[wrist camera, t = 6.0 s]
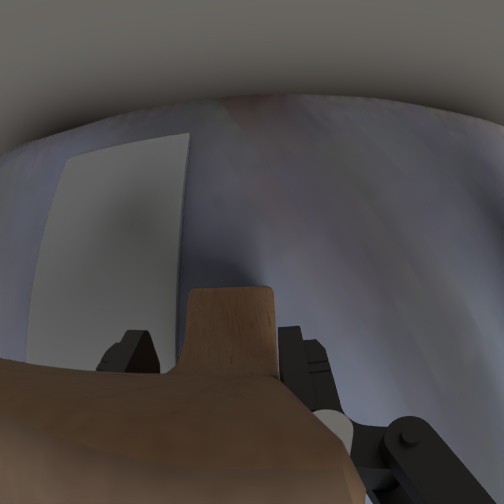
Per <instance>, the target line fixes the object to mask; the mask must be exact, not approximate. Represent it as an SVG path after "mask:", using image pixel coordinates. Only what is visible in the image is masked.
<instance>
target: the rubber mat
mask: <svg viewBox="0 0 504 504" xmlns="http://www.w3.org/2000/svg"><path fill="white" fill-rule="evenodd" d="M190 141H191V136H190V133H185V134H178V135H171V136H165V137H159V138H153V139H148V140H142V141H137V142H132V143H127V144H122V145H117V146H113V147H108V148H104V149H100V150H96V151H92V152H88V153H84V154H80V155H76V156H73V157H69V158H67V159H66V162H65V165H64V167H63V170H62V173H61V175H60V178H59V181H58V184H57V187H56V190H55V193H54V196H53V199H52V202H51V206H50V209H49V213H48V216H47V220H46V223H45V227H44V231H43V235H42V239H41V243H40V248H39V252H38V257H37V262H36V267H35V272H34V278H33V284H32V290H31V297H30V305H29V314H28V324H27V336H26V356H25V363H30V364H37V365H44V366H51V367H59V368H68V369H78V370H89V371H96V367H97V366H98V364H99V363H100V360H101V359H102V357H103V355H104V353H105V352H106V350H108V349H109V348H110V347H111V346H112V345H113V344H115V343H116V342H117V343H120V341H121V339H122V338H123V336H124V334H125V332H126V331H127V330H148V331H149V333H150V335H151V338H152V341H153V344H154V347H155V350H156V353H157V356H158V359H159V362H160V373H167V372H168V371H169V370H171V369H172V368H173V367H174V366H176V365H177V362H178V305H179V274H180V253H181V236H182V222H183V209H184V197H185V187H186V176H187V167H188V158H189V149H190Z"/></svg>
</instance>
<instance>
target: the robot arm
mask: <svg viewBox="0 0 504 504" xmlns="http://www.w3.org/2000/svg"><path fill="white" fill-rule="evenodd" d="M278 349H279V375H280V381H281V382H282V383H283V384H284V385H285V386H286V387H287V388H288V389H289V390H290V391H291V392H292V393H293V394H294V395H295V396H296V397H297V398H298V399H299V400H300V401H301V402H302V403H303V404H304V405H305V406H306V407H307V408H308V409H309V410H310V411H311V412H312V413H313V414H314V415H315V416H316V417H318V418H319V419H320V420H321V421H322V422H323V423H324V424H325V425H326V426H327V427H328V428H329V429H330V430H331V431H332V432H333V433H334V434H336V435H337V436H338V437H339V438H340V439H341V440H342V441H343V443H344V445H345V447H346V450H347V452H348V454H349V456H350V458H351V460H352V462H353V464H354V466H355V468H356V470H357V472H358V474H359V476H360V478H361V480H362V482H363V484H364V486H365V488H366V493H367V495H368V497H369V498H370V500H371V501H372V503H373V504H496V503H495V501H494V500H493V499H492V498H491V497H490V495H489V494H488V493H487V492H486V491H485V489H484V488H483V487H482V486H481V484H480V483H479V482H478V481H477V480H476V478H475V477H474V476H473V475H472V474H471V473H470V471H469V470H468V469H467V468H466V467H465V465H464V464H463V463H462V462H461V461H460V459H459V458H458V457H457V456H456V455H455V454H454V452H453V451H452V450H451V449H450V448H449V447H448V445H447V444H446V443H445V442H444V441H443V440H442V438H441V437H440V436H439V435H438V434H437V433H436V431H435V430H434V429H433V428H432V427H431V426H430V425H429V424H428V423H427V422H426V421H425V420H423V419H421V418H418V417H414V416H405V417H401V418H398V419H396V420H394V421H393V422H392V423H391V424H390V425H389V426H388V427H378V426H366V425H361V424H358V423H356V422H354V421H352V420H351V419H349V418H348V417H347V416H346V415H345V414H344V412H343V410H342V408H341V404H340V400H339V397H338V393H337V389H336V385H335V382H334V378H333V375H332V372H331V367H330V364H329V362H328V357H327V353H326V350H325V348H324V347H323V346H322V345H321V344H320V343H319V342H318V341H317V340H316V339H313V340H303V338H302V334H301V329H300V326H290V327H278ZM96 371H102V372H120V373H160V362H159V359H158V356H157V353H156V350H155V347H154V344H153V341H152V338H151V335H150V333H149V331H148V330H127V331H126V332H125V334H124V336H123V338H122V339H121V341H120V343H117V342H116V343H115V344H113V345H112V346H111V347H110V348H109V349H108V350H106V352H105V353H104V355H103V357H102V359H101V360H100V363H99V364H98V366H97V367H96Z"/></svg>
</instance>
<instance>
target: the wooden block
mask: <svg viewBox="0 0 504 504" xmlns="http://www.w3.org/2000/svg"><path fill="white" fill-rule="evenodd" d="M365 495H366V488H365V486H364V484H363V482H362V480H361V478H360V476H359V474H358V472H357V470H356V468H355V466H354V464H353V462H352V460H351V458H350V456H349V454H348V452H347V450H346V447H345V445H344V443H343V441H342V440H341V439H340V438H339V437H338V436H337V435H336V434H334V433H333V432H332V431H331V430H330V429H329V428H328V427H327V426H326V425H325V424H324V423H323V422H322V421H321V420H320V419H319V418H318V417H316V416H315V415H314V414H313V413H312V412H311V411H310V410H309V409H308V408H307V407H306V406H305V405H304V404H303V403H302V402H301V401H300V400H299V399H298V398H297V397H296V396H295V395H294V394H293V393H292V392H291V391H290V390H289V389H288V388H287V387H286V386H285V385H284V384H283V383H282V382H281V381H280V378H279V372H278V360H277V346H276V330H275V310H274V292H273V290H272V289H271V287H268V286H244V287H213V288H194V289H191V290H190V291H189V294H188V299H187V312H186V325H185V340H184V343H183V347H182V350H181V353H180V356H179V359H178V362H177V365H176V366H174V367H173V368H172V369H171V370H169V371H168V372H167V373H120V372H102V371H89V370H78V369H68V368H59V367H51V366H44V365H37V364H30V363H24V362H18V361H13V360H7V359H2V358H0V504H365Z"/></svg>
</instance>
